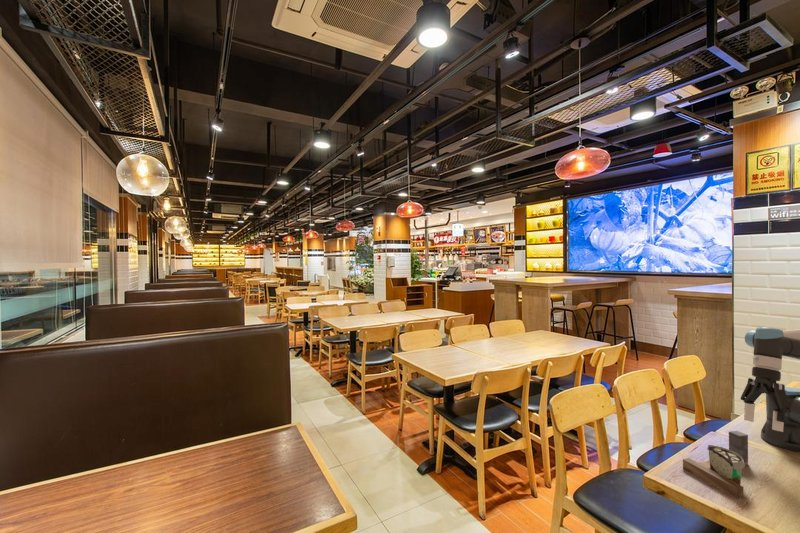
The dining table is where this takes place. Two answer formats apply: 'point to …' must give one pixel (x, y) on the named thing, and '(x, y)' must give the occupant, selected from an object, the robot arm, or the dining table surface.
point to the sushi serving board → (703, 471)
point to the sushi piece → (726, 463)
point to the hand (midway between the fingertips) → (762, 425)
